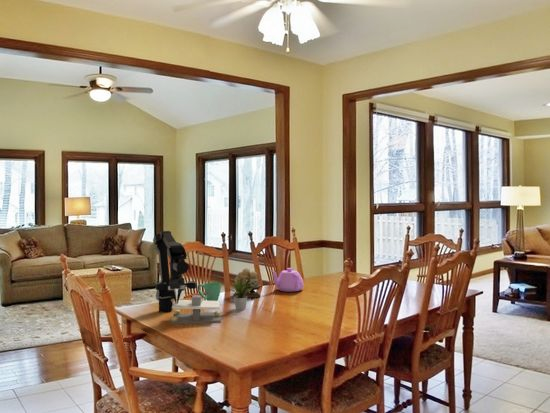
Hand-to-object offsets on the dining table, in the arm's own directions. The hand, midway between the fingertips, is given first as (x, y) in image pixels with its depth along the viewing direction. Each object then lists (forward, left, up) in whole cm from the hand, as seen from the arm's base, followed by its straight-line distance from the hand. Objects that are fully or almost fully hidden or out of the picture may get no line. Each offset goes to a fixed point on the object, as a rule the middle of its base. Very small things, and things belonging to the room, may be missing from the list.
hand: (176, 303), depth 230 cm
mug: (+14, +37, -8) cm, 41 cm away
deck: (+9, 0, -2) cm, 10 cm away
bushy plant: (+36, +47, -8) cm, 60 cm away
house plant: (+31, +16, -8) cm, 36 cm away
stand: (+9, 0, -8) cm, 12 cm away
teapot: (+61, +60, -8) cm, 86 cm away
